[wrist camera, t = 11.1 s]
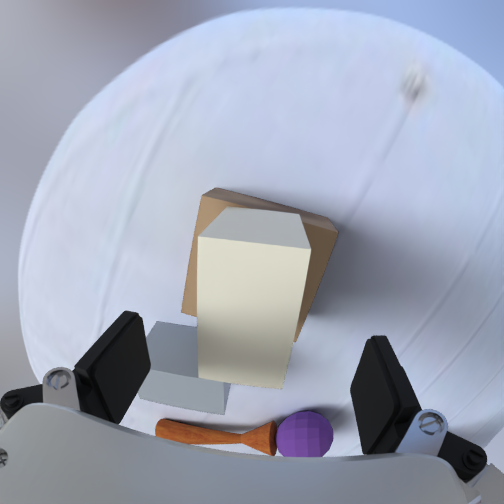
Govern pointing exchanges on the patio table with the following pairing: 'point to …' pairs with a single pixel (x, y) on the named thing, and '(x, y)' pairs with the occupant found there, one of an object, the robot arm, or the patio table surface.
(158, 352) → the slate grey brick
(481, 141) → the patio table surface
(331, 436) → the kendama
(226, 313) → the cream brick
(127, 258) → the patio table surface
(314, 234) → the walnut block
